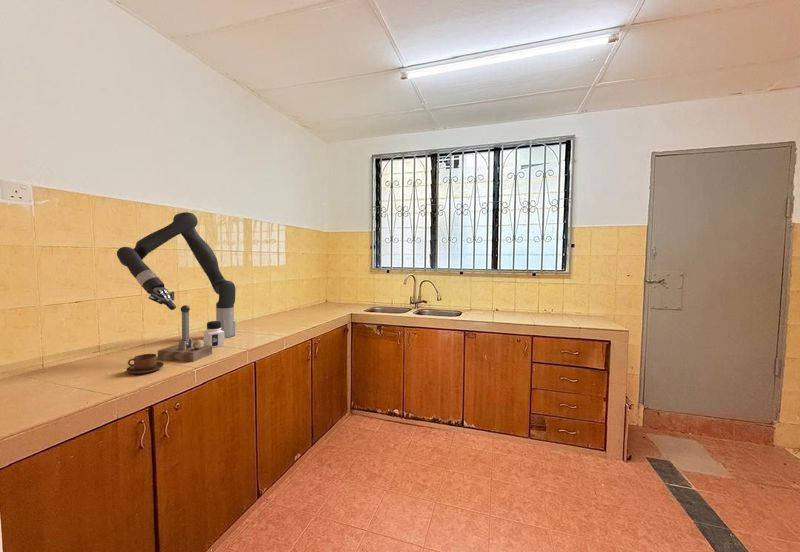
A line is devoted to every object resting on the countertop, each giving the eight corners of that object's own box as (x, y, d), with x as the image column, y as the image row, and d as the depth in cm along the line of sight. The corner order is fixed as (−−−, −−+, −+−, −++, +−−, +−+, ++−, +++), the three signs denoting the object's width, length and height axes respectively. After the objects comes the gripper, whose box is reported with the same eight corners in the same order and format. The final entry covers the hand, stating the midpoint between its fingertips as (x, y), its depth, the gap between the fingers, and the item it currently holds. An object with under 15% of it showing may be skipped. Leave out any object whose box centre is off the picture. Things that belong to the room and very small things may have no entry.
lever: (179, 348, 152) (178, 305, 151) (185, 346, 156) (184, 304, 155) (186, 348, 152) (185, 306, 151) (192, 346, 155) (191, 304, 154)
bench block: (157, 359, 149) (157, 340, 149) (178, 351, 161) (178, 334, 161) (193, 361, 147) (193, 343, 147) (212, 353, 159) (212, 336, 158)
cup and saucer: (124, 378, 126) (123, 362, 126) (129, 369, 136) (128, 354, 136) (162, 373, 133) (162, 358, 132) (164, 364, 143) (164, 350, 142)
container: (224, 345, 174) (224, 321, 173) (208, 348, 168) (208, 323, 167) (219, 342, 179) (219, 319, 178) (203, 345, 173) (203, 321, 173)
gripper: (142, 277, 147) (167, 305, 147) (166, 275, 160) (189, 301, 160) (132, 288, 148) (156, 316, 147) (157, 286, 161) (180, 311, 161)
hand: (173, 308), depth 154 cm, fingers closed
